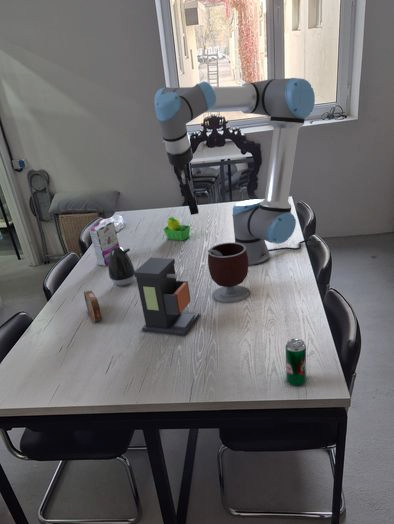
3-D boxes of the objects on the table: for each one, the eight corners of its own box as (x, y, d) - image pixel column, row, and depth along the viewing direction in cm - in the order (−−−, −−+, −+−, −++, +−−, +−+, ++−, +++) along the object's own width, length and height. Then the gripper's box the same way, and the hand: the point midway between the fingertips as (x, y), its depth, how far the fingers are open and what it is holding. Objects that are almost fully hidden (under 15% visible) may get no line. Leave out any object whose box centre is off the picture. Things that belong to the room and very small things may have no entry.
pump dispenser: (132, 288, 189) (124, 251, 180) (107, 288, 191) (99, 252, 183) (140, 277, 197) (133, 241, 189) (116, 277, 199) (108, 242, 191)
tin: (86, 308, 178) (81, 288, 174) (95, 306, 179) (89, 285, 175) (95, 326, 166) (90, 304, 162) (104, 323, 167) (99, 301, 163)
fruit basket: (192, 236, 230) (189, 212, 224) (182, 242, 224) (178, 219, 218) (173, 234, 235) (169, 211, 229) (162, 240, 229) (158, 217, 223)
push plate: (190, 302, 159) (187, 282, 155) (180, 313, 153) (177, 294, 149) (186, 301, 159) (183, 282, 155) (176, 313, 153) (173, 293, 149)
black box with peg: (199, 315, 164) (191, 258, 152) (183, 335, 154) (174, 276, 143) (159, 312, 169) (149, 256, 158) (142, 331, 160) (130, 273, 148)
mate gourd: (229, 282, 182) (225, 231, 171) (258, 291, 173) (255, 238, 163) (200, 299, 174) (193, 246, 163) (229, 309, 165) (224, 254, 154)
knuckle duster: (101, 223, 263) (128, 220, 262) (96, 234, 248) (124, 231, 247) (100, 217, 261) (127, 214, 261) (94, 228, 246) (123, 225, 246)
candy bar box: (113, 255, 221) (105, 220, 212) (122, 256, 218) (114, 221, 210) (97, 265, 213) (88, 229, 204) (105, 266, 211) (97, 230, 202)
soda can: (284, 376, 130) (283, 339, 123) (303, 374, 130) (303, 336, 123) (289, 388, 126) (288, 349, 119) (308, 385, 126) (308, 346, 119)
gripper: (167, 140, 152) (184, 203, 170) (166, 162, 144) (183, 226, 162) (190, 135, 151) (205, 199, 169) (190, 157, 143) (206, 222, 161)
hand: (194, 212), depth 165 cm, fingers closed
